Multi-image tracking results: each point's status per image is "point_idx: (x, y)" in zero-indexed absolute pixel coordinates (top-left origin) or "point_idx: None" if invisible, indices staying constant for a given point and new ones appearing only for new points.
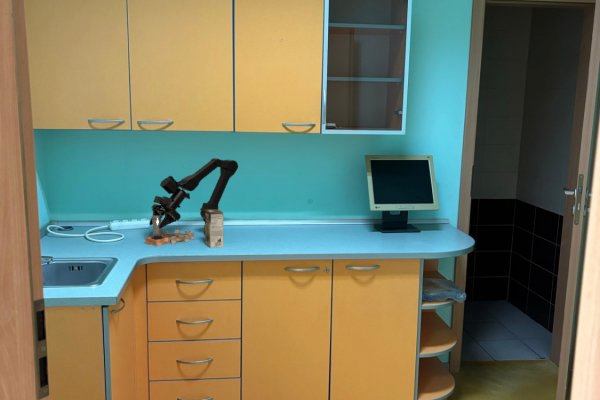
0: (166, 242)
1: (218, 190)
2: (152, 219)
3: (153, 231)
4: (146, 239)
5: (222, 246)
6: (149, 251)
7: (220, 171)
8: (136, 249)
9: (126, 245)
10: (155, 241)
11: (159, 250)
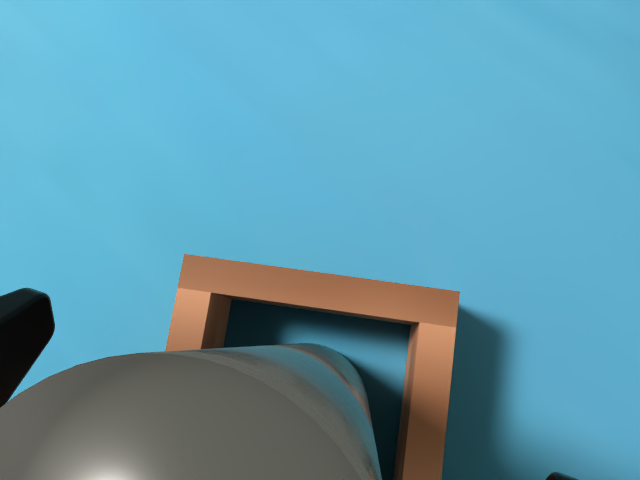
0: None
1: None
2: (308, 382)
3: (301, 348)
4: (416, 287)
5: None
6: (92, 42)
7: None
8: (287, 21)
9: (554, 83)
10: (190, 255)
11: (23, 134)
